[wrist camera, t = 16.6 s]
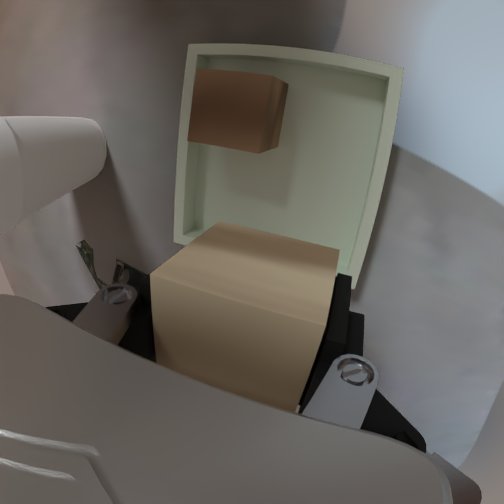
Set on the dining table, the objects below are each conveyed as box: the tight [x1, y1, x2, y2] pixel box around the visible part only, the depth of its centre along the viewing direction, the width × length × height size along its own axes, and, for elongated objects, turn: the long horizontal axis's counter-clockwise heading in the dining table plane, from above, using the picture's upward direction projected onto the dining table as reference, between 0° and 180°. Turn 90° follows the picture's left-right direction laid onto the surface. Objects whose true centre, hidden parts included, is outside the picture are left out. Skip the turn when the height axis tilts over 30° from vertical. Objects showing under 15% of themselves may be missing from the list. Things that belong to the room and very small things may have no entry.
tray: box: [174, 43, 404, 289], centre depth 21 cm, size 15×14×3 cm
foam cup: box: [0, 116, 107, 236], centre depth 21 cm, size 10×9×13 cm
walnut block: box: [187, 69, 289, 154], centre depth 18 cm, size 4×4×4 cm
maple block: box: [150, 221, 340, 412], centre depth 10 cm, size 4×4×4 cm
